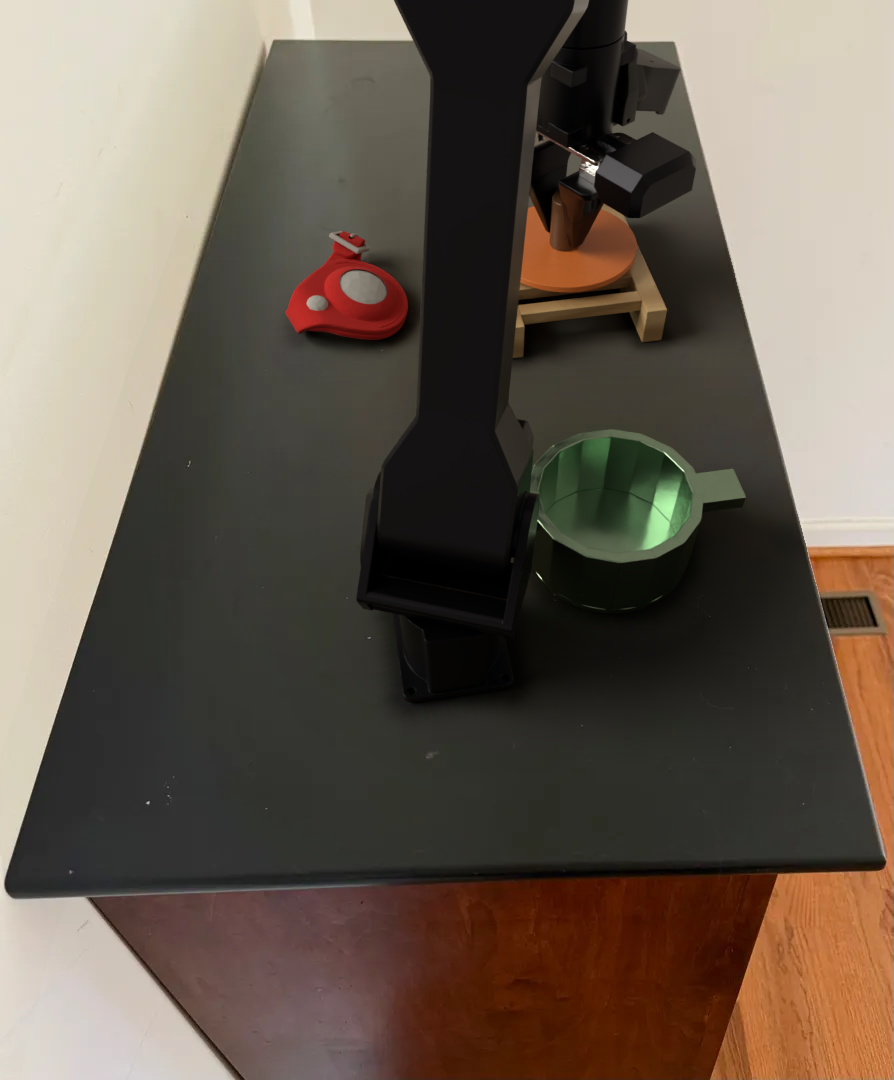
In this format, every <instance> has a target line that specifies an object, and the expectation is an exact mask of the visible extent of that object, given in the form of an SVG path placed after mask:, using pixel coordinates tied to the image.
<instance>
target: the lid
mask: <svg viewBox="0 0 894 1080" xmlns="http://www.w3.org/2000/svg"><path fill="white" fill-rule="evenodd" d="M637 245H638V243H637V238H636V236H635V233H634V232H633V230H632V228H631V227H630V226H629V224H628V225H627V224H626V223H625V222H623V221H622V220H621V219H620V218H618V217H617V216H615V215H613V214H611V213H609V212H607V211H605V210H602V209H601V210H600V212H599V214H598V216H597V218H596V219H595V221H594V223H593V225H592V227H591V229H590V231H589V233H588V235H587V237H586V238H585V240H584V242H583V244H582V245H580V246H578V247H576V248H574V249H573V248H571V247H570V245H569V242H568V238H567V234H566V228H565V221H564V215H563V208H562V202H561V196H560V190H558V191H556V192H555V193H554V194H553V196H552V209H551V225H550V233H548V232H547V231H546V230H545V228H544V226H543V224H542V222H541V219H540V217H539V215H538V213H537V211H536V209H535V207H534V205H533V206H530V207H528V213H527V222H526V232H525V242H524V252H523V262H522V271H521V281H520V283H522V284H524V285H527V286H530V287H533V288H537V289H540V290H546V291H551V292H582V291H588V290H592V289H596V288H600V287H603V286H605V285H608V284H610V283H612V282H614V281H616V280H617V279H619V278H620V277H622V276H623V275H624V274H625V273H626V272H627V271H628V270H629V269H630V268H631V266H632V264H633V263H634V260H635V257H636V252H637Z"/></svg>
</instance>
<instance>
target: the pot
mask: <svg viewBox="0 0 894 1080" xmlns="http://www.w3.org/2000/svg"><path fill="white" fill-rule="evenodd" d="M530 493H534V494H539V495H540V504H539V513H538V521H537V528H536V536H535V544H534V551H533V559H532V566H531V572H533V575H534V576H535V578H536V579H537V580H538V582H540V584H542V586H543V587H544V588H545V589H546V590H547V591H548V592H550V593H551V594H552V595H553V596H555V597H556V598H558V600H561V601H563V602H565V603H566V604H569V605H570V606H573V607H576V608H578V609H581V610H584V611H589V612H592V613H597V614H615V615H616V614H628V613H632V612H637V611H640V610H643V609H646V608H649V607H651V606H654V605H655V604H657V603H659V602H660V601H662V600H664V598H666V597H668V595H669V594H671V592H673V590H675V588H676V587H677V586H678V585H679V583H680V581H681V579H682V578H683V576H684V574H685V572H686V571H687V568H688V565H689V562H690V559H691V555H692V552H693V549H694V545H695V542H696V539H697V537H698V532H699V529H700V526H701V523H702V519H703V514H704V513H710V512H718V511H726V510H732V509H740V508H741V509H742V508H743V507H744V505H745V502H746V498H747V496H746V494H745V492H744V489H743V487H742V485H741V483H740V481H739V478H738V476H737V474H736V471H735V469H734V468H727V469H725V468H724V469H719V470H711V471H710V470H709V471H704V472H703V471H702V472H696V470H695V468H694V467H693V466H692V464H690V463H689V462H688V461H687V460H686V459H684V458H683V456H682V455H681V454H680V453H678V451H676V450H675V449H674V448H673V447H671V446H670V445H667V444H665V443H663V442H661V441H659V440H656V439H655V438H652V437H650V436H648V435H646V434H644V433H641V432H634V431H629V430H628V431H627V430H621V429H615V428H608V429H607V428H606V429H600V430H593V431H592V430H590V431H583V432H578V433H575V434H573V435H572V436H569V437H567V438H565V439H563V440H561V441H559V442H557V443H554V444H552V445H551V446H549V448H548V449H547V450H546V451H545V452H544V453H543V455H542V456H541V457H540V458H539V459H538V460H537V461H536V462H535V463H534V464H533V465H532V474H531V484H530Z"/></svg>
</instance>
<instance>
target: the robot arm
mask: <svg viewBox="0 0 894 1080" xmlns="http://www.w3.org/2000/svg"><path fill="white" fill-rule="evenodd" d="M393 2H394V4H395V6H396V8H397V11H398V12H399V15H400V16H401V18H402V21H403V23H404V25H405V27H406V29H407V31H408V33H409V35H410V37H411V39H412V41H413V44H414V45H415V48H416V50H417V52H418V54H419V55H420V58H421V60H422V62H423V65H424V66H425V69H426V70H427V72H428V74H429V84H430V85H429V86H430V87H429V89H430V90H429V111H428V112H429V113H428V114H429V115H428V130H427V131H428V132H427V133H428V135H427V157H426V177H425V178H426V180H425V181H426V182H425V203H424V224H423V225H424V226H423V246H422V247H423V250H422V269H421V270H422V271H421V272H422V273H421V274H422V276H421V297H420V300H421V301H420V315H419V316H420V318H419V339H418V361H417V362H418V364H417V365H418V366H417V389H416V405H415V406H416V408H415V416H414V417H413V419H412V420H411V422H410V423H409V425H408V426H407V427H406V428H405V430H404V431H403V433H402V434H401V436H400V437H399V438H398V440H397V442H395V444H394V445H393V448H392V449H391V450H390V451H389V453H388V454H387V455H386V457H385V459H384V460H383V462H382V463H381V468H380V471H379V473H378V475H377V477H376V479H375V483H374V484H373V488H371V489H370V490H368V491H367V493H366V496H365V504H364V511H363V512H364V514H363V522H362V532H361V540H360V554H359V561H360V564H359V565H360V570H359V578H358V583H357V590H356V595H355V596H356V603H358V605H359V606H360V607H361V608H362V610H367V611H380V612H384V613H389V614H392V622H393V629H394V630H393V631H394V636H395V646H396V652H397V661H398V667H399V668H398V669H399V676H400V683H401V691H402V697H403V699H404V701H405V702H407V703H416V702H423V701H432V700H438V699H444V698H451V697H457V696H465V695H472V694H479V693H485V692H492V691H493V692H494V691H500V690H507V689H510V688H511V687H512V686H513V684H514V673H513V667H512V664H511V659H510V654H509V653H510V652H509V649H508V645H507V640H511V641H513V640H514V639H515V635H516V631H517V627H518V624H519V620H520V616H521V612H522V609H523V604H524V601H525V595H526V593H527V589H528V584H529V581H530V577H531V572H532V569H531V566H532V559H533V551H534V544H535V536H536V528H537V521H538V513H539V504H540V495H539V494H534V493H530V484H531V474H532V469H533V465H534V464H533V463H534V462H533V461H534V448H533V446H534V439H535V438H534V434H533V431H532V428H531V425H530V422H529V421H528V420H525V419H519V418H517V416H516V414H515V413H514V411H513V409H512V406H511V405H510V403H509V399H510V389H511V388H510V387H511V378H512V367H513V359H514V358H513V350H514V340H515V330H516V320H517V310H518V305H519V301H520V300H519V291H520V281H521V271H522V262H523V252H524V242H525V232H526V222H527V213H528V208H529V201H530V200H531V202H532V205H533V206H534V207H535V209H536V211H537V213H538V215H539V217H540V219H541V222H542V224H543V226H544V228H545V230H546V231H547V232H548V233H550V225H551V209H552V196H553V194H554V193H555V192H556V191H558V190H560V196H561V202H562V208H563V215H564V221H565V228H566V234H567V238H568V242H569V245H570V247H571V248H573V249H574V248H576V247H578V246H580V245H582V244H583V242H584V240H585V238H586V237H587V235H588V233H589V231H590V229H591V227H592V225H593V223H594V221H595V219H596V218H597V216H598V214H599V212H600V210H601V208H602V206H603V204H605V205H607V206H609V207H610V208H612V209H614V210H615V211H617V212H619V213H620V214H622V215H624V217H625V218H627V219H641V218H644V217H645V216H647V215H648V214H651V213H653V212H654V211H656V210H658V209H660V208H662V207H664V206H666V205H668V204H669V203H672V202H673V201H675V200H676V199H679V198H681V197H682V196H685V195H686V194H688V193H690V192H692V191H693V188H694V181H695V176H696V171H697V158H696V157H695V156H694V155H693V154H692V153H691V151H689V150H687V149H686V148H684V147H682V146H680V145H678V144H676V143H674V142H672V141H670V140H669V139H667V138H665V137H663V136H661V135H659V134H657V133H656V132H654V131H652V132H649V133H647V134H645V135H644V136H642V137H640V138H637V139H636V138H634V137H633V136H630V135H628V134H626V133H625V132H614V127H615V126H617V125H619V126H621V127H626V126H628V125H630V124H632V123H633V122H635V121H636V115H637V112H653V113H654V112H655V114H656V115H661V116H662V115H664V114H665V113H666V111H667V108H668V105H669V102H670V100H671V97H672V94H673V92H674V89H675V86H676V84H677V81H678V79H679V76H680V73H681V70H682V68H681V67H680V66H678V65H677V64H674V63H672V62H670V61H668V60H665V59H663V58H661V57H659V56H657V55H655V54H653V53H650V52H649V51H646V50H644V49H641V48H638V47H637V44H636V43H634V42H631V41H629V40H628V32H627V31H626V25H627V24H626V23H627V17H628V16H627V15H628V7H629V0H393ZM572 154H573V155H574V156H576V157H578V158H580V159H581V161H580V162H581V164H579V165H578V170H576V171H575V172H573V173H571V174H569V175H567V174H568V167H569V166H568V163H569V160H570V157H571V155H572ZM512 559H513V562H512ZM506 639H507V640H506ZM503 678H505V679H508V680H506V681H503V680H502V679H503ZM409 692H414V693H413V694H409Z"/></svg>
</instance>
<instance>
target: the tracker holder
mask: <svg viewBox="0 0 894 1080" xmlns="http://www.w3.org/2000/svg"><path fill="white" fill-rule="evenodd" d="M328 237H329V238H330V239H332V240H333V241H334V242H333V243H332V251H333V252H332V253H331V255H330V256H329V257H328V258H327V260H326V261H325V263H324V264H323V265H322V266H320V267H318V268H317V269H316V270H314V271H312V273H310V275H308V276H307V277H306V278H305V279H303V280H302V281H301V282H300V283H299V284H298V285H297V286H296V288H295V289H294V290H293V293H292V295H291V297H290V300H289V301H288V306H287V309H286V310H285V315H286V317H287V318H288V320H289V322H290V324H291V326H292V327H293V329H294V330H295V332H296V333H297V334H298V335H300V334H303V333H304V332H305V331H308V332H321V333H322V332H323V333H329V334H333V335H336V336H339V337H345V338H350V339H358V340H367V341H368V340H369V341H371V340H372V341H377V340H383V339H388V338H389V337H392V336H393V335H395V334H396V333H398V332H399V330H401V328H402V327H403V325H404V324H405V321H406V318H407V314H408V311H409V302H408V297H407V294H406V292H405V290H404V289H403V286H401V285H400V283H399V282H398V280H397V279H395V278H394V277H393V276H392V275H391V274H390V273H389V272H387V271H385V270H384V269H382V268H380V267H378V266H376V265H374V264H372V263H368V262H365V261H362V255H363V253H366V252H367V253H368V252H369V251H370V249H371V247H370V245H367V244H366V239H365V238H363V237H361V236H359V234H358V233H357V232H353V233H350V232H348V231H345V230H339V231H334V232H333V231H332V232H331V233H329V236H328Z"/></svg>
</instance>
